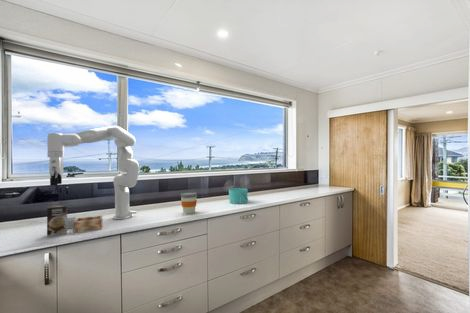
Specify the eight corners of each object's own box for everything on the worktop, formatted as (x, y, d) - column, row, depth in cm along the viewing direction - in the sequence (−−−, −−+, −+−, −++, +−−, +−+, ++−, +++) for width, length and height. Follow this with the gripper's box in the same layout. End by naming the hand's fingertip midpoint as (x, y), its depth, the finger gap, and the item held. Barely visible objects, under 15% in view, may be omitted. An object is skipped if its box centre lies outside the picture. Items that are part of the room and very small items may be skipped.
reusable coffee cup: (200, 211, 184) (200, 192, 184) (190, 214, 172) (190, 194, 172) (187, 210, 189) (187, 191, 189) (177, 213, 178) (177, 194, 178)
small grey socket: (78, 224, 151) (78, 216, 151) (76, 227, 145) (76, 219, 145) (64, 225, 148) (64, 218, 148) (61, 229, 141) (61, 220, 141)
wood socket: (102, 224, 150) (102, 215, 150) (101, 229, 140) (101, 219, 140) (76, 227, 143) (76, 218, 143) (73, 232, 133) (73, 222, 133)
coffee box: (46, 237, 125) (46, 208, 126) (47, 234, 131) (47, 206, 131) (67, 234, 131) (67, 206, 131) (67, 231, 136) (67, 204, 136)
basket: (227, 201, 226) (227, 188, 226) (245, 200, 230) (245, 187, 230) (230, 204, 207) (230, 190, 208) (250, 203, 211) (250, 189, 211)
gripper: (60, 154, 125) (60, 185, 125) (67, 155, 140) (67, 183, 140) (43, 154, 121) (43, 186, 121) (51, 155, 137) (51, 183, 137)
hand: (56, 184), depth 131 cm, fingers open, 9 cm apart
